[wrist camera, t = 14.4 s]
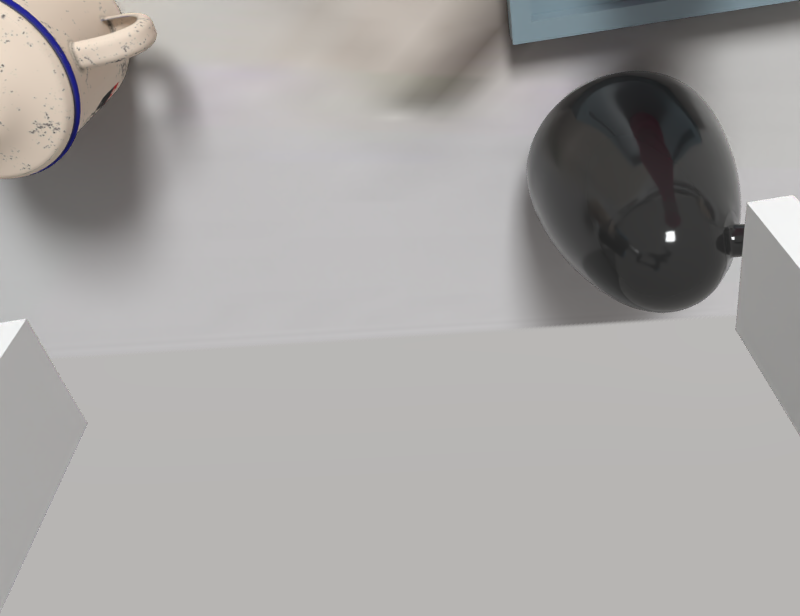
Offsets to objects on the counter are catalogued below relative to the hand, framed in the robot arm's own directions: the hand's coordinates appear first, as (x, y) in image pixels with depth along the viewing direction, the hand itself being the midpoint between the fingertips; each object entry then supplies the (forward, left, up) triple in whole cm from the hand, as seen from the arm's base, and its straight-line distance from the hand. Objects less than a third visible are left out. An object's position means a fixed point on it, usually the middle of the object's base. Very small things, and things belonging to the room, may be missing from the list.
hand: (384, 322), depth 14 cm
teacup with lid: (-18, 0, -31) cm, 36 cm away
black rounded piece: (+10, -11, -31) cm, 34 cm away
